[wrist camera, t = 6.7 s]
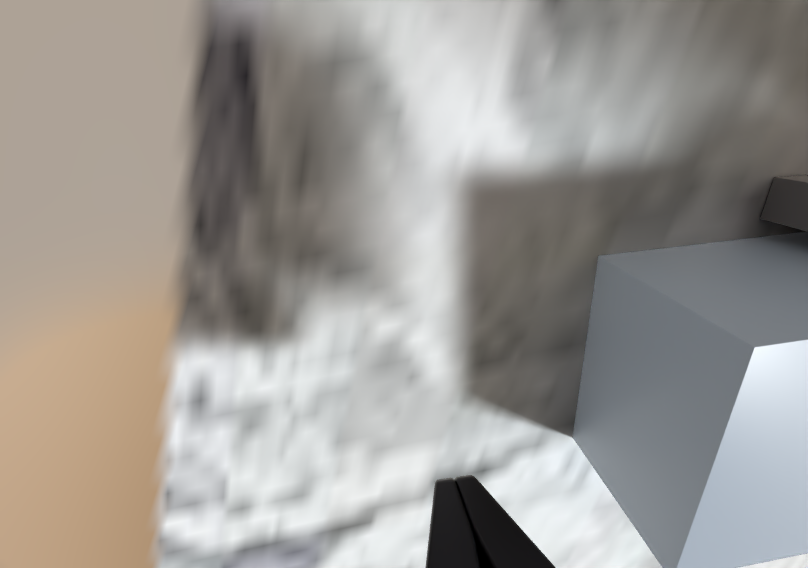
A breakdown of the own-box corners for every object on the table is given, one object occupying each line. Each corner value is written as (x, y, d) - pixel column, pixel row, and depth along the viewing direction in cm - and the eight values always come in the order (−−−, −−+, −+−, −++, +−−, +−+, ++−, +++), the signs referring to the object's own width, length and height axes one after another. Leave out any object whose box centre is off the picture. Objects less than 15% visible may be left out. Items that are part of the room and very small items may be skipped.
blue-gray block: (836, 226, 12) (1117, 294, 8) (767, 401, 15) (943, 525, 11) (595, 253, 12) (754, 346, 7) (570, 433, 15) (672, 581, 10)
